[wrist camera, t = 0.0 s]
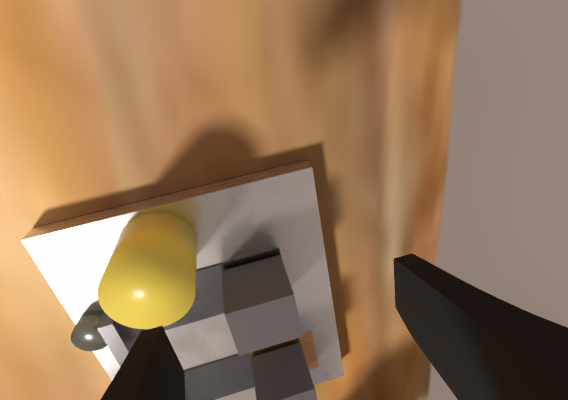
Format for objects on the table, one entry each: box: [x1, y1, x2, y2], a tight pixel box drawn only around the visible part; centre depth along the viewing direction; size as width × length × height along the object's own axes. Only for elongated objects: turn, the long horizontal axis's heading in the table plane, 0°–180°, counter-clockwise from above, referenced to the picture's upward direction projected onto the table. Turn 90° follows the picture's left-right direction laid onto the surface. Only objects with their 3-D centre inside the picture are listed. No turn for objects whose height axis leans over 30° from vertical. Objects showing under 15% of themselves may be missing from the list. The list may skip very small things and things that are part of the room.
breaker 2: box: [251, 342, 317, 400], centre depth 22 cm, size 3×4×4 cm
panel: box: [21, 160, 344, 400], centre depth 21 cm, size 18×15×3 cm
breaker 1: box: [221, 255, 303, 356], centre depth 19 cm, size 3×4×4 cm
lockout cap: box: [97, 212, 197, 329], centre depth 17 cm, size 4×4×4 cm
